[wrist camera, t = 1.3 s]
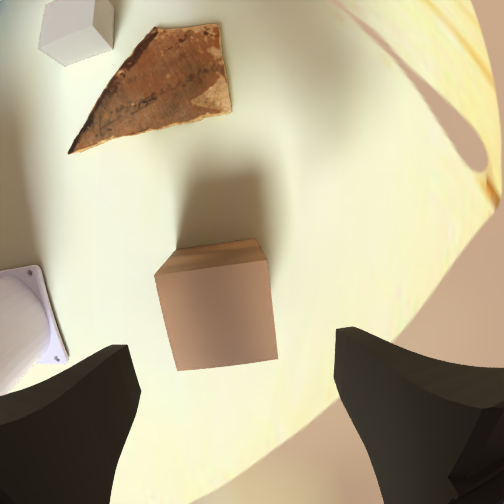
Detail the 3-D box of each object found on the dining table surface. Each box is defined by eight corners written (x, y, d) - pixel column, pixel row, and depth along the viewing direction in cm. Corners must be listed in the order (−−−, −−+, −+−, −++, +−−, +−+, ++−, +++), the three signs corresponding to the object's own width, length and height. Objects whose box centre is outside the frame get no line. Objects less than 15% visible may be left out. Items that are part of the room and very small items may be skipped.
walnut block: (190, 322, 20) (177, 370, 14) (176, 249, 19) (154, 275, 13) (264, 312, 20) (278, 358, 14) (255, 238, 19) (267, 259, 13)
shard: (77, 156, 17) (64, 154, 16) (73, 62, 16) (62, 53, 14) (233, 120, 18) (234, 113, 16) (218, 24, 16) (217, 11, 15)
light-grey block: (64, 67, 16) (38, 48, 12) (68, 26, 15) (45, 4, 11) (113, 50, 16) (92, 25, 12) (115, 9, 15) (97, -18, 11)
